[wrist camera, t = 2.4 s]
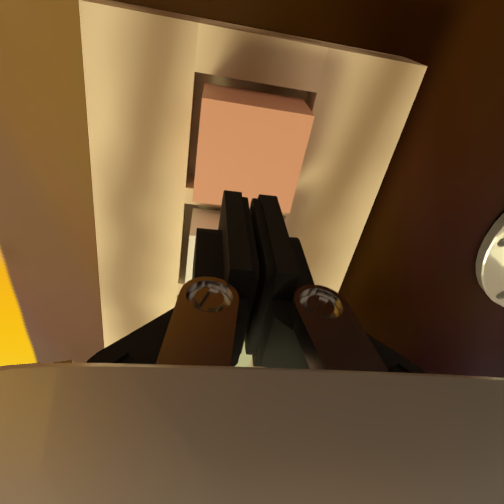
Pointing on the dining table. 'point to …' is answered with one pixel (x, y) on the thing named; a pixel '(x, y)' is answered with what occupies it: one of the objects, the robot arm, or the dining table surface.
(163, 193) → the keypad base
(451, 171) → the dining table surface
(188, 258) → the offwhite key
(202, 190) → the terracotta key
